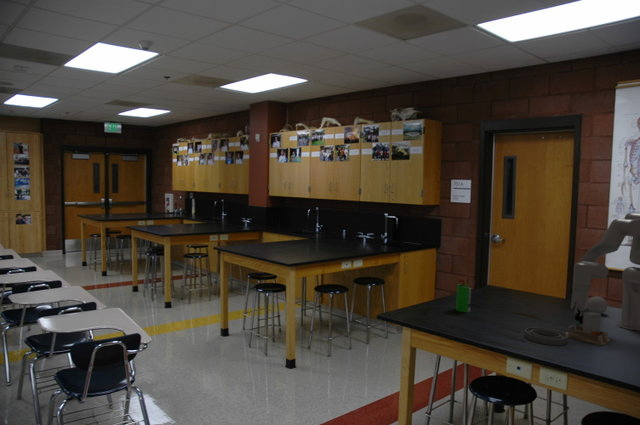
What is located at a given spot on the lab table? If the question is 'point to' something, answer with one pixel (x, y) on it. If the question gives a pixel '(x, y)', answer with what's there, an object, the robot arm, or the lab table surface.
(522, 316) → the lab table surface
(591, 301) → the eye model
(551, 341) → the mechanical component
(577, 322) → the gate
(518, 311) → the lab table surface
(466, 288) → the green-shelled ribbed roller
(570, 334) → the rest
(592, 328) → the skincare box
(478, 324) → the lab table surface
